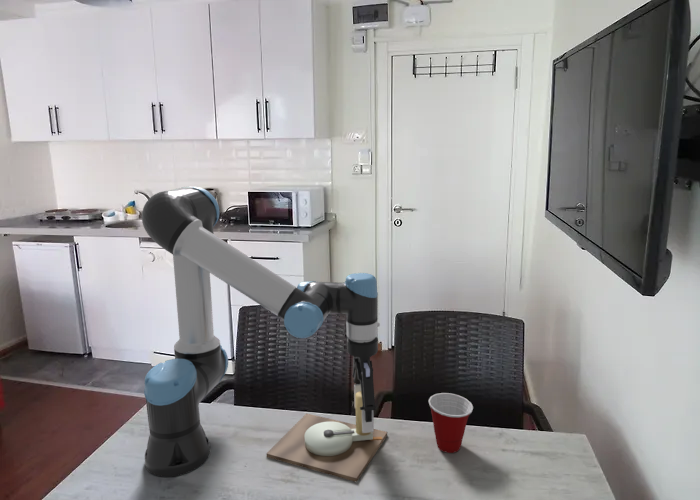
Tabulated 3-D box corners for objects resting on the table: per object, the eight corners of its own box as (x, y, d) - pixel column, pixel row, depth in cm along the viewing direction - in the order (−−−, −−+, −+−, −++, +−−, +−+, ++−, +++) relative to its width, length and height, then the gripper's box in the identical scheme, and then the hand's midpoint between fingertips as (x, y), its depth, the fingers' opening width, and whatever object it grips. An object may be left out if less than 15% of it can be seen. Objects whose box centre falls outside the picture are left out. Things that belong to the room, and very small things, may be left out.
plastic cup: (472, 461, 120) (474, 416, 118) (426, 457, 122) (427, 412, 120) (471, 436, 130) (472, 393, 128) (428, 432, 133) (429, 390, 130)
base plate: (266, 457, 124) (266, 452, 123) (306, 416, 141) (306, 412, 141) (356, 482, 114) (356, 477, 114) (387, 435, 132) (387, 431, 131)
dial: (306, 458, 121) (304, 412, 118) (303, 430, 132) (301, 388, 130) (376, 451, 123) (375, 406, 120) (367, 424, 135) (367, 383, 132)
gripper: (388, 355, 112) (388, 444, 117) (368, 319, 135) (369, 395, 139) (354, 358, 111) (356, 447, 116) (340, 321, 134) (342, 397, 138)
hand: (363, 419), depth 127 cm, fingers open, 11 cm apart
